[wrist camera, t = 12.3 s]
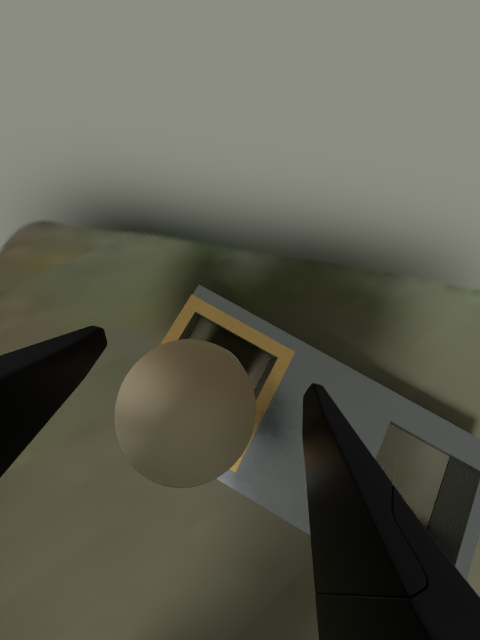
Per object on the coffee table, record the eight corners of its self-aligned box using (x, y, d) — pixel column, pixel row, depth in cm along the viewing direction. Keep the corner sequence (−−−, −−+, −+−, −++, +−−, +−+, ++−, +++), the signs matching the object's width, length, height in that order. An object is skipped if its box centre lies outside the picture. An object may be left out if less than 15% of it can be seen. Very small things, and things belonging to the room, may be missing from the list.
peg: (229, 411, 16) (222, 513, 6) (178, 389, 16) (87, 451, 6) (250, 359, 16) (276, 370, 6) (202, 338, 16) (155, 318, 7)
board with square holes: (468, 438, 16) (506, 452, 14) (423, 585, 14) (458, 627, 12) (202, 292, 17) (198, 283, 15) (130, 409, 15) (113, 418, 13)
